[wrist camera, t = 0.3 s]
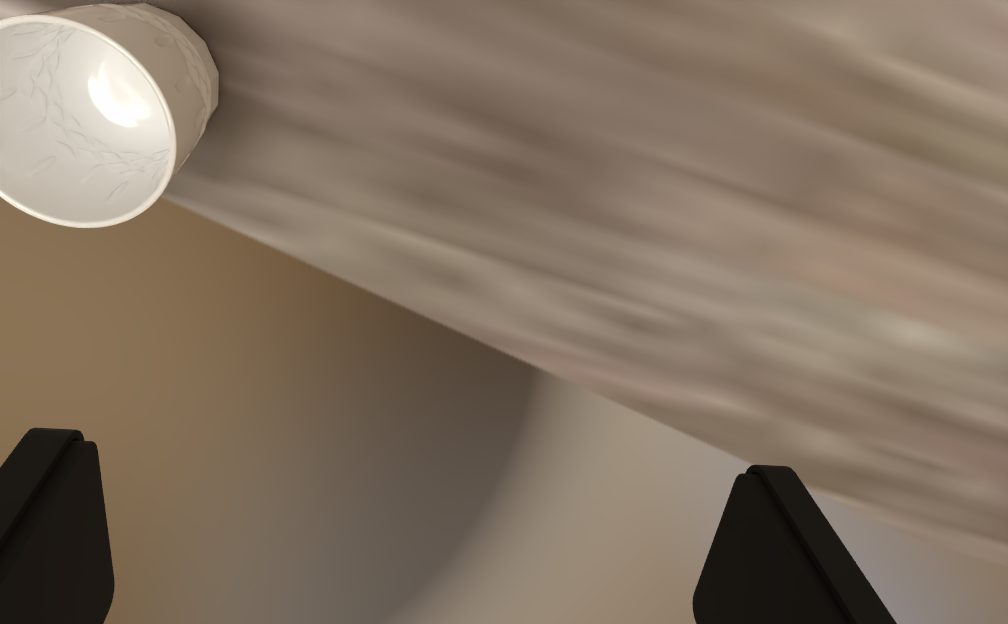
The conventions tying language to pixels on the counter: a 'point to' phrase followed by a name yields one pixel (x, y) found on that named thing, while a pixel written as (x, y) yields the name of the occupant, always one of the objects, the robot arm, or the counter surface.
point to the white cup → (99, 109)
